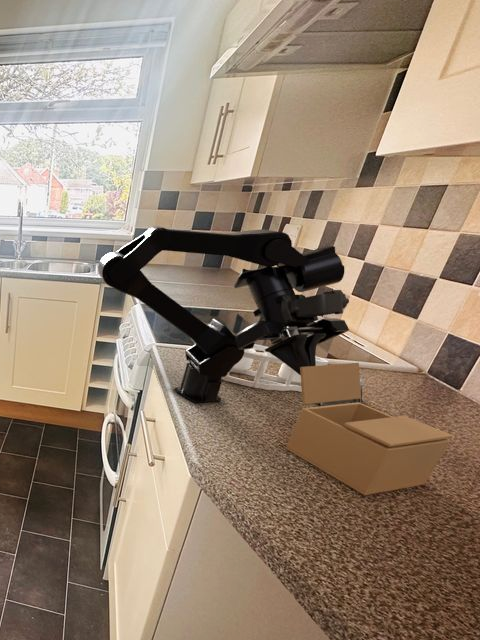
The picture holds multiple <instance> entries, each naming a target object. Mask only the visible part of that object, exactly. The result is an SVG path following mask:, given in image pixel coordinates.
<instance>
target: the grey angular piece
mask: <svg viewBox="0 0 480 640" xmlns="http://www.w3.org/2000/svg"><path fill="white" fill-rule="evenodd" d="M363 380H364V377H361V378H360V388H361V399H351V400H341V401H332V402H322V403H316V404H317V405H320V406H329V405H338V404H348V403H357V402H359V403H362V404H363V403H364V401H363Z"/></svg>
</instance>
